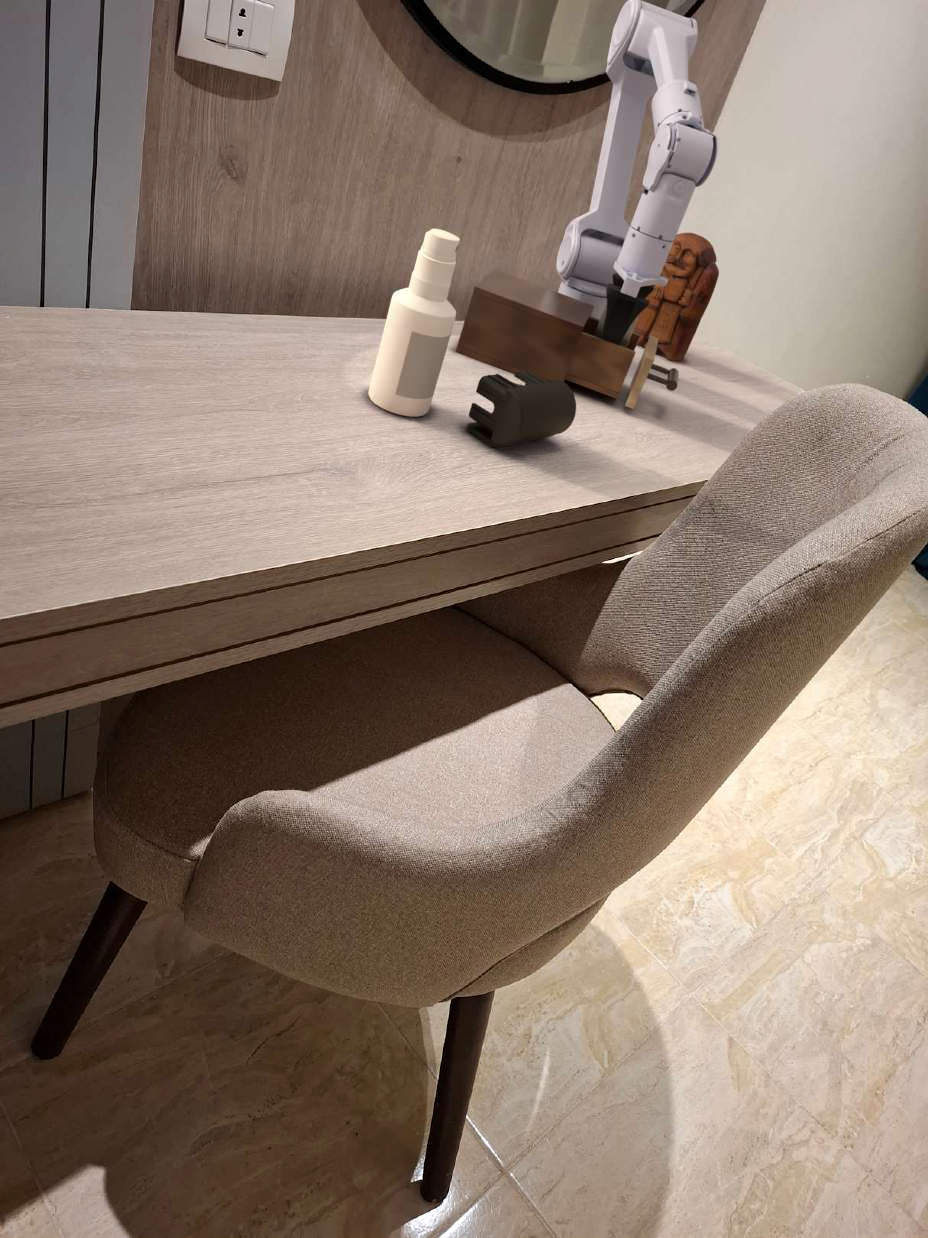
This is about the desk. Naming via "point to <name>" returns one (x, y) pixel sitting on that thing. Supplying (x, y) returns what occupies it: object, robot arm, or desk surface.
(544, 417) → the end cap
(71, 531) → the desk surface
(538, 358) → the cabinet
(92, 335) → the desk surface
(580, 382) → the drawer
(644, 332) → the wooden figurine
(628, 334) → the grey rectangular block
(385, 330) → the spray bottle
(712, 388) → the desk surface
